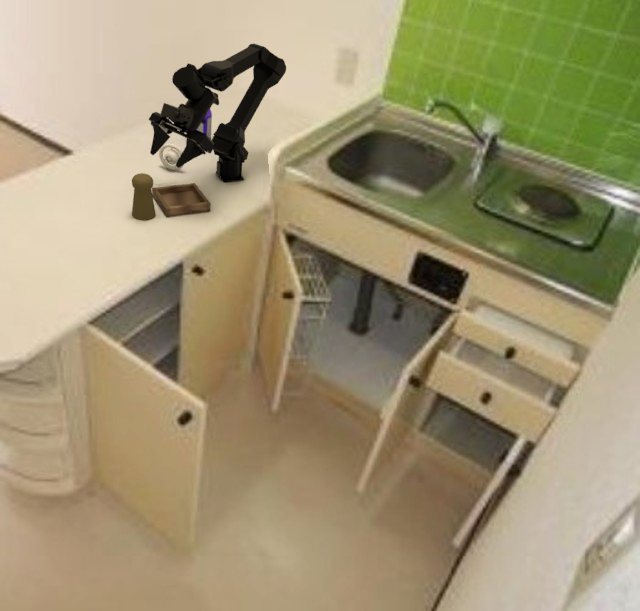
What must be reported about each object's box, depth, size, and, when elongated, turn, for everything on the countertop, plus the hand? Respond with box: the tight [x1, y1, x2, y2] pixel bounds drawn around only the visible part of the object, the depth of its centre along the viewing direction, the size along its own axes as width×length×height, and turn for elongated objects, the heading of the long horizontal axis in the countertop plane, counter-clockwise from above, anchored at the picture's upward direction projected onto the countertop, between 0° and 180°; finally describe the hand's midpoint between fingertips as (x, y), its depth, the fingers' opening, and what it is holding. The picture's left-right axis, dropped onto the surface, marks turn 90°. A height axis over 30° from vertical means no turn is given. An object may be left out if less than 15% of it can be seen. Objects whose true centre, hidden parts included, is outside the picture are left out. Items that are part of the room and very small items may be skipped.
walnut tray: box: [151, 182, 211, 218], centre depth 172 cm, size 12×12×2 cm
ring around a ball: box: [158, 143, 184, 171], centre depth 187 cm, size 8×6×8 cm
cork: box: [131, 173, 157, 222], centre depth 162 cm, size 6×6×11 cm
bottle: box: [197, 108, 213, 140], centre depth 201 cm, size 7×6×17 cm
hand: (164, 160), depth 163 cm, fingers open, 9 cm apart
